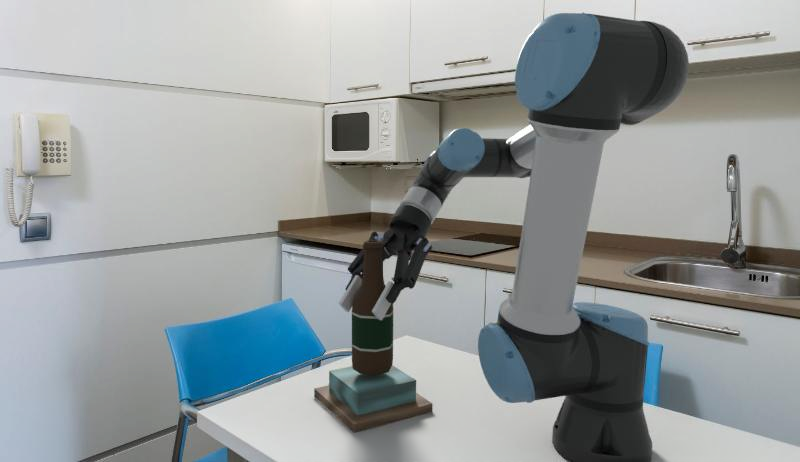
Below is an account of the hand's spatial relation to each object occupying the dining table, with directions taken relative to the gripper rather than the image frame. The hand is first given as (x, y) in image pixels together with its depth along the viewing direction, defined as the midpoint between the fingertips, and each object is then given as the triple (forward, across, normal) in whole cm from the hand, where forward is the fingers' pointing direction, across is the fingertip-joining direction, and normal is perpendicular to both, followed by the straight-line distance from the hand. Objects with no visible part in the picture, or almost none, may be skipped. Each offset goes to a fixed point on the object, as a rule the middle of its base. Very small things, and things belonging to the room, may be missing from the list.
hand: (359, 311), depth 102 cm
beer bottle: (+6, 0, -11) cm, 12 cm away
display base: (+11, 0, -16) cm, 19 cm away
